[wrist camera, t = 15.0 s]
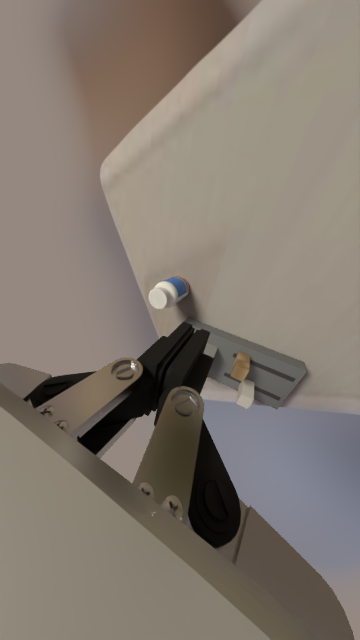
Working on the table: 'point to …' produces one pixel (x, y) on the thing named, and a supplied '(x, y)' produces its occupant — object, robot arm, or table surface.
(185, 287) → the pill bottle
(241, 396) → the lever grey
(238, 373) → the lever oak
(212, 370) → the panel
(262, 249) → the table surface
